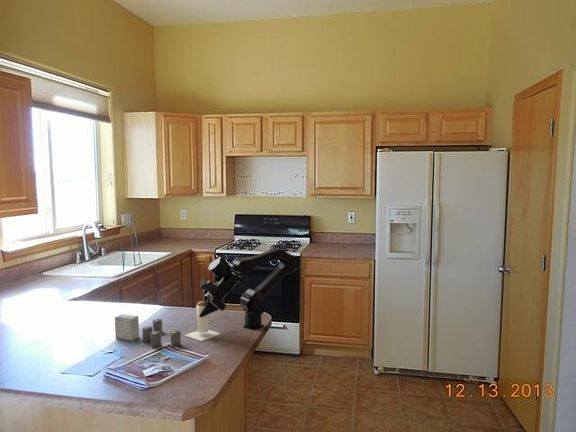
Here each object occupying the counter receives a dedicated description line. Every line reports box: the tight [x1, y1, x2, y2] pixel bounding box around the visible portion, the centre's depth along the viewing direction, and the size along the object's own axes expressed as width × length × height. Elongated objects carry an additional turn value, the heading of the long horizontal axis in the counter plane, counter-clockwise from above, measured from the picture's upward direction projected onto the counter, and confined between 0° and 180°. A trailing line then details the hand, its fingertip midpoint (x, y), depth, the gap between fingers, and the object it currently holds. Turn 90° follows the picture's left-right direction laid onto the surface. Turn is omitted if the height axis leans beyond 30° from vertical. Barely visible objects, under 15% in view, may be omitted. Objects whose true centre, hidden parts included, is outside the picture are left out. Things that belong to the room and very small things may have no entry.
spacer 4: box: [170, 329, 182, 348], centre depth 156 cm, size 4×4×5 cm
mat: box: [184, 329, 221, 342], centre depth 166 cm, size 10×10×1 cm
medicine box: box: [114, 313, 140, 341], centre depth 163 cm, size 8×4×9 cm, turn 71°
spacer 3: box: [150, 331, 162, 349], centre depth 155 cm, size 4×4×5 cm
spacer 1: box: [142, 326, 153, 343], centre depth 160 cm, size 4×4×5 cm
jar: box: [196, 300, 210, 333], centre depth 165 cm, size 4×4×12 cm
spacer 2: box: [152, 318, 163, 334], centre depth 169 cm, size 4×4×5 cm
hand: (199, 314), depth 165 cm, fingers closed on jar, 4 cm apart
